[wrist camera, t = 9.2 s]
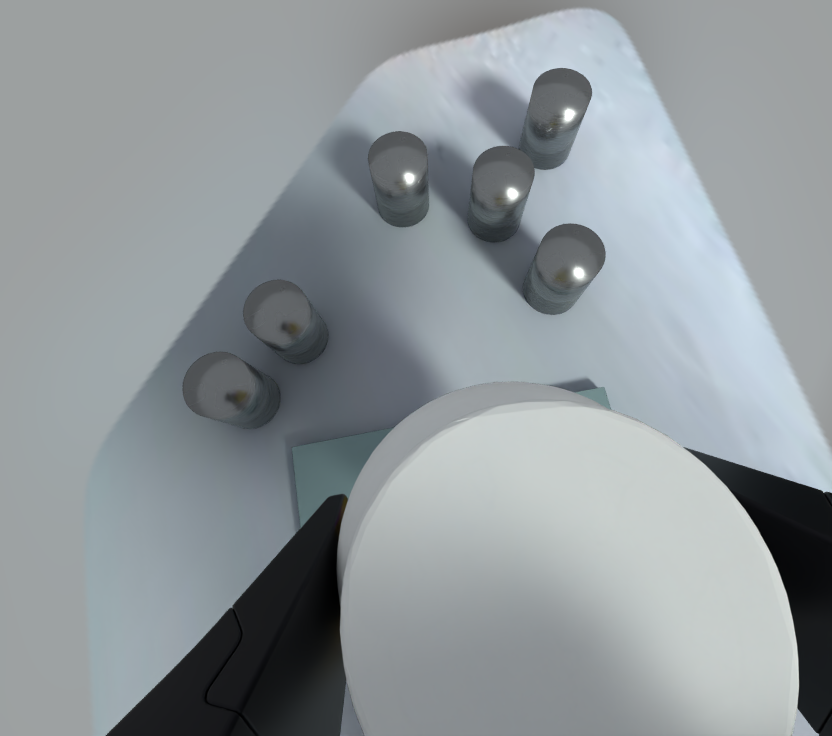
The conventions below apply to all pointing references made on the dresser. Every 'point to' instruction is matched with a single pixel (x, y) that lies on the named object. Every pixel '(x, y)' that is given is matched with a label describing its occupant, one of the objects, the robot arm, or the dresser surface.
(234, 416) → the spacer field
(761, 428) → the dresser surface
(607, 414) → the supplement bottle
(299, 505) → the rubber mat
